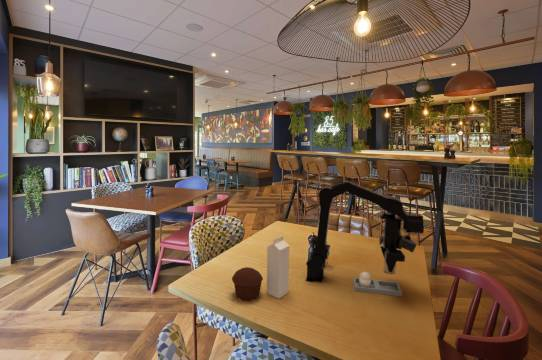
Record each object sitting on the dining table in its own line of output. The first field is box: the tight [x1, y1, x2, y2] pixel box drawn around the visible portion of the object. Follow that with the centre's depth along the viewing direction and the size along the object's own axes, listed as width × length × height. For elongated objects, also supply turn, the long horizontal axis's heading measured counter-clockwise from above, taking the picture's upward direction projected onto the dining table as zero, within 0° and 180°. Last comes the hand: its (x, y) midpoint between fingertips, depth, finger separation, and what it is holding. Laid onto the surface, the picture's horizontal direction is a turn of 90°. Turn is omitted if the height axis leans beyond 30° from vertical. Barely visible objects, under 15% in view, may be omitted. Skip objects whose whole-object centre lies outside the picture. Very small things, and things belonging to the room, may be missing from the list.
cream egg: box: [358, 271, 372, 288], centre depth 115 cm, size 4×4×6 cm
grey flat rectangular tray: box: [352, 277, 403, 297], centre depth 115 cm, size 17×8×2 cm, turn 78°
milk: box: [266, 235, 290, 299], centre depth 110 cm, size 6×6×22 cm
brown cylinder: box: [382, 258, 397, 276], centre depth 112 cm, size 4×4×6 cm
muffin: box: [231, 266, 264, 302], centre depth 109 cm, size 12×11×10 cm
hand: (389, 269), depth 113 cm, fingers closed on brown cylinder, 4 cm apart
